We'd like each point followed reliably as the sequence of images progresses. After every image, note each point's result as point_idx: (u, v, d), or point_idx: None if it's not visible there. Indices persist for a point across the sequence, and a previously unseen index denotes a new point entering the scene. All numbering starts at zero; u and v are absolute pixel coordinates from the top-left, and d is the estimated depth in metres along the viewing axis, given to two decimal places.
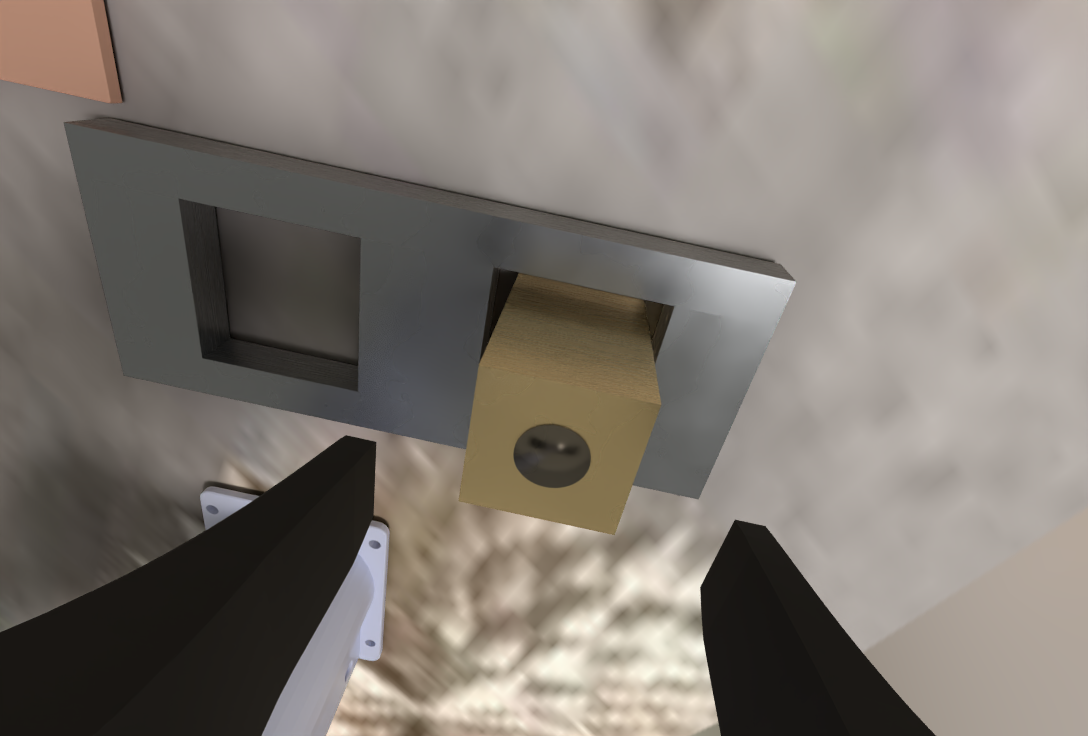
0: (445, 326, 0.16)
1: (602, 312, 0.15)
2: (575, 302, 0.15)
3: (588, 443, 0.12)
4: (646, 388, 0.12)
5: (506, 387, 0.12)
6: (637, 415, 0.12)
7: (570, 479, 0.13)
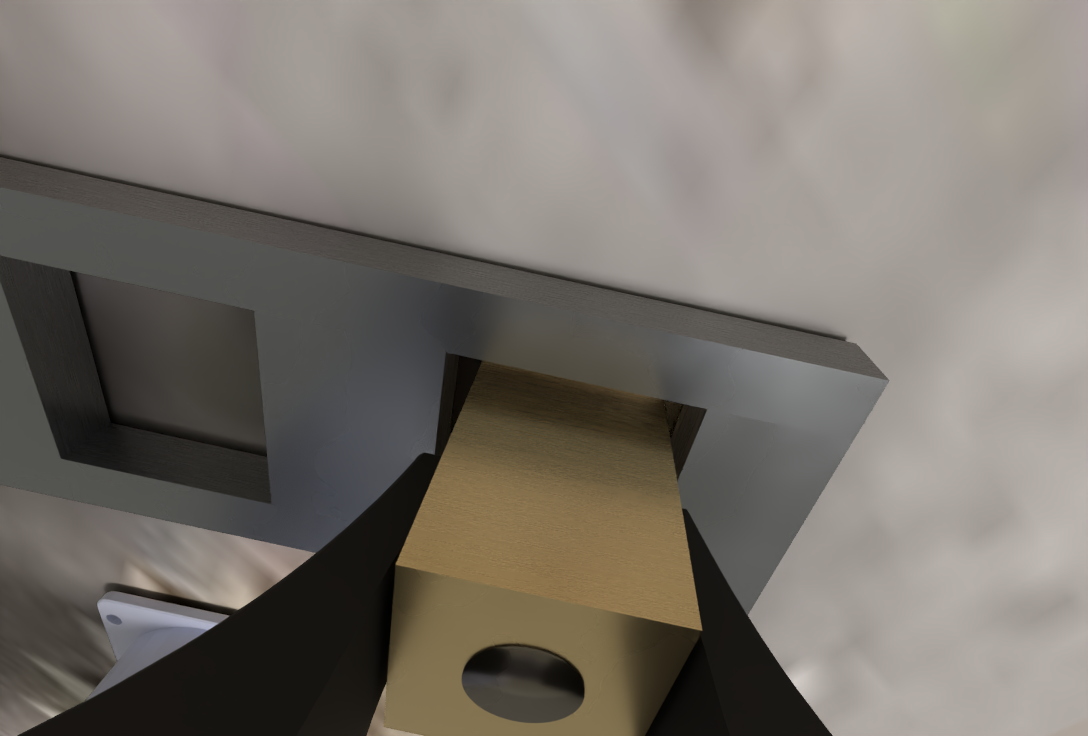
0: (383, 427, 0.11)
1: (602, 416, 0.11)
2: (564, 400, 0.11)
3: (580, 668, 0.08)
4: (675, 589, 0.07)
5: (444, 595, 0.07)
6: (661, 642, 0.07)
7: (553, 714, 0.08)
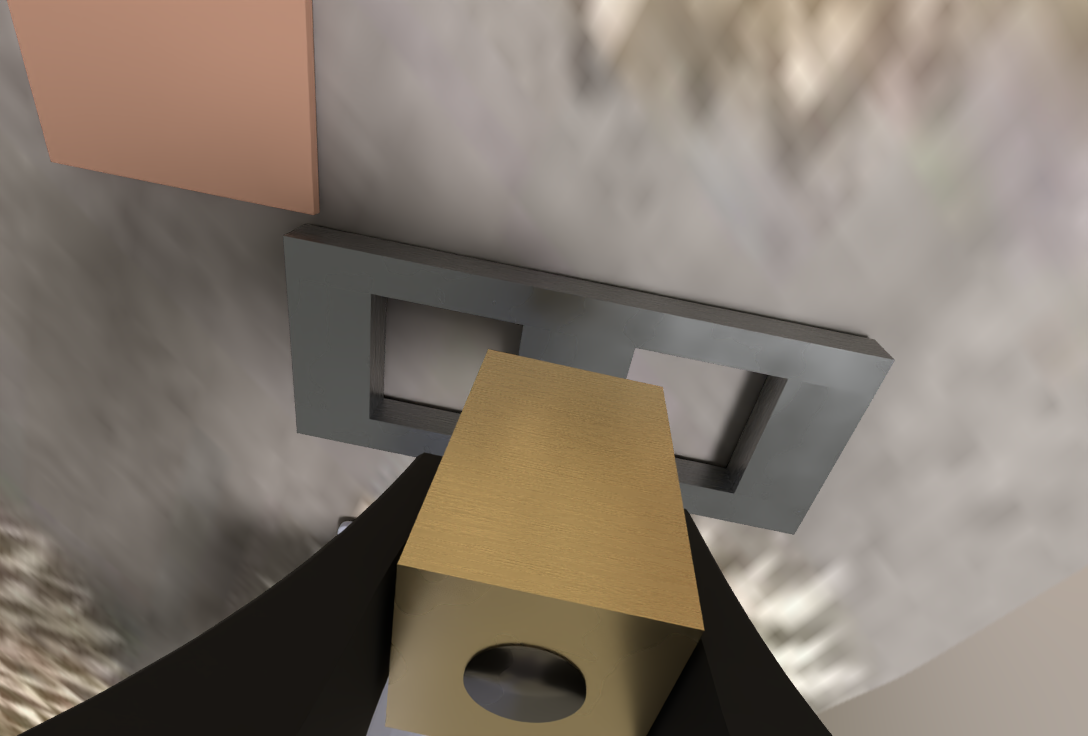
0: None
1: (604, 415, 0.11)
2: (566, 400, 0.11)
3: (581, 667, 0.08)
4: (677, 588, 0.07)
5: (446, 594, 0.07)
6: (663, 642, 0.07)
7: (554, 713, 0.08)
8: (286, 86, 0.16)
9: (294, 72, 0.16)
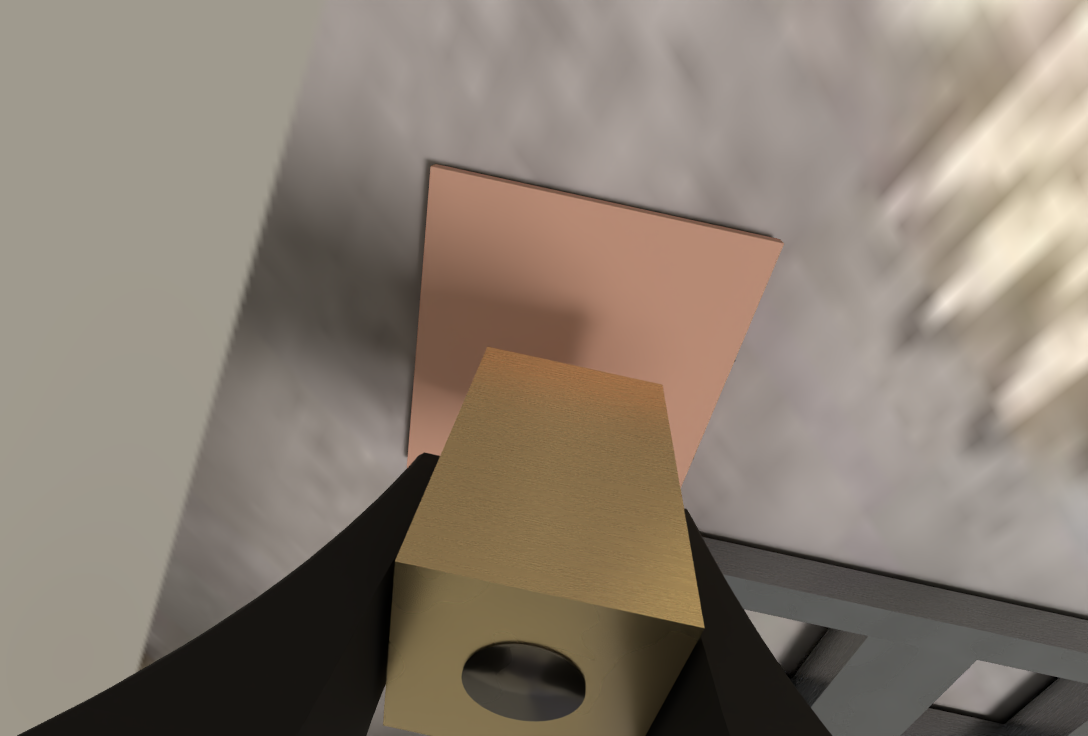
0: (910, 687, 0.19)
1: (603, 413, 0.11)
2: (565, 397, 0.11)
3: (581, 666, 0.08)
4: (677, 586, 0.07)
5: (443, 592, 0.07)
6: (662, 640, 0.07)
7: (553, 712, 0.08)
8: (679, 435, 0.16)
9: (692, 426, 0.16)
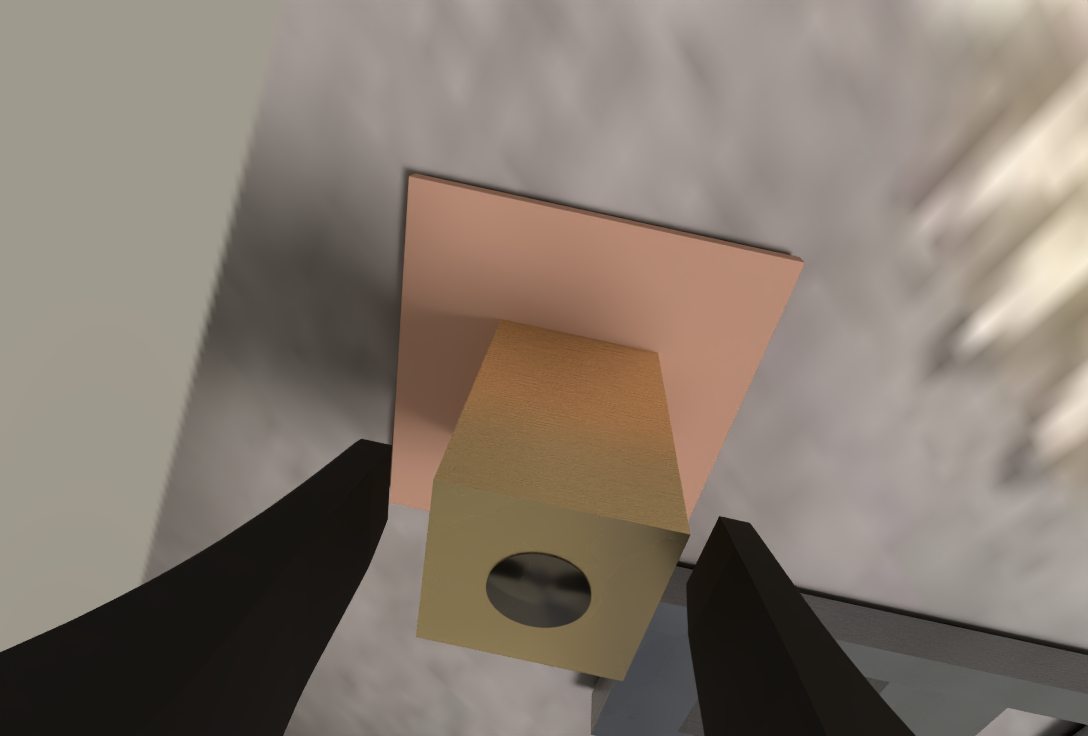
0: (934, 734, 0.18)
1: (605, 374, 0.12)
2: (571, 361, 0.12)
3: (587, 575, 0.09)
4: (668, 504, 0.09)
5: (473, 507, 0.08)
6: (656, 546, 0.08)
7: (563, 618, 0.09)
8: (685, 468, 0.15)
9: (700, 459, 0.15)
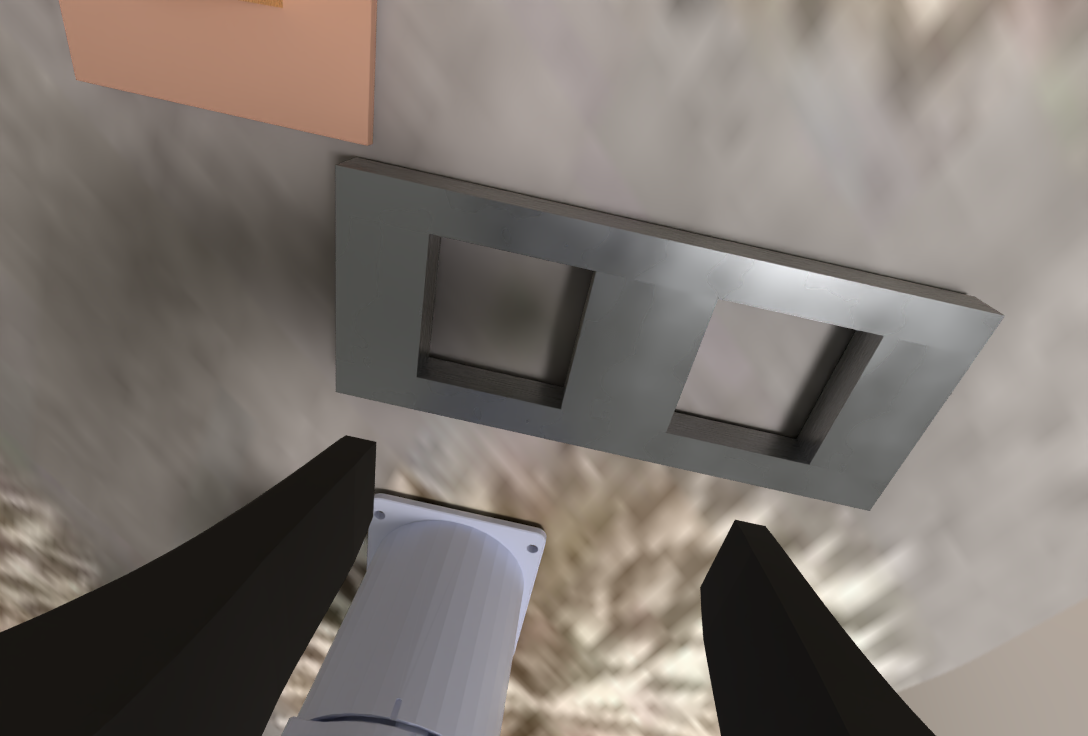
0: (659, 351, 0.17)
1: None
2: None
3: None
4: None
5: None
6: None
7: None
8: None
9: None
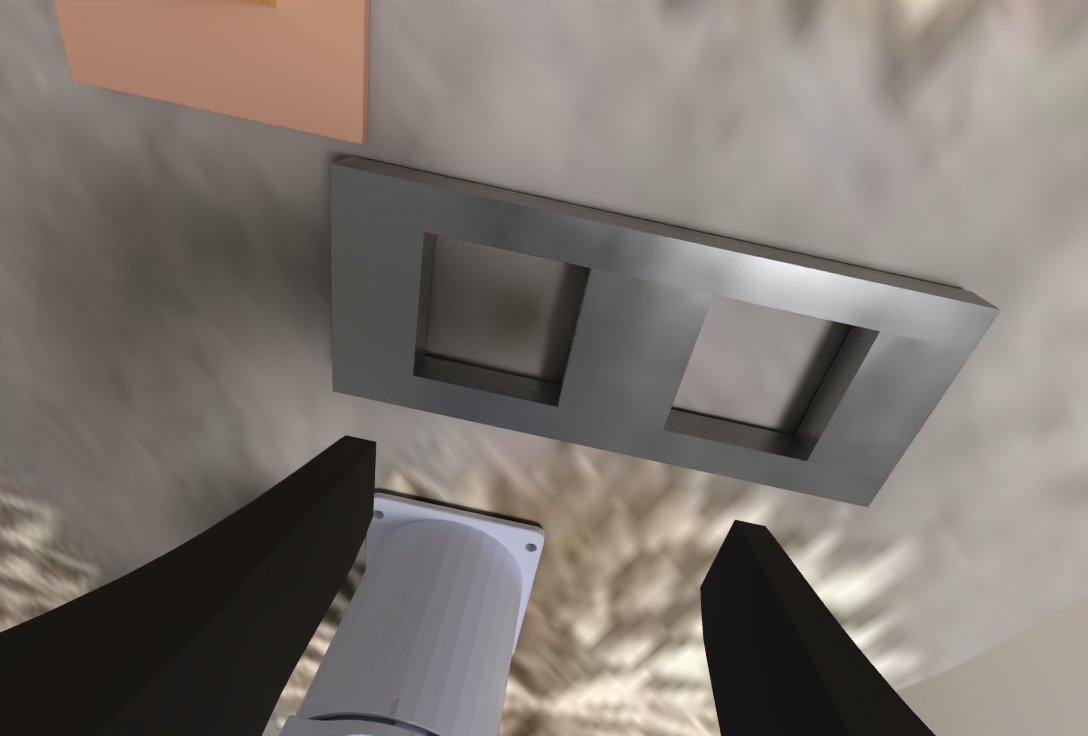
0: (656, 348, 0.17)
1: None
2: None
3: None
4: None
5: None
6: None
7: None
8: None
9: None
